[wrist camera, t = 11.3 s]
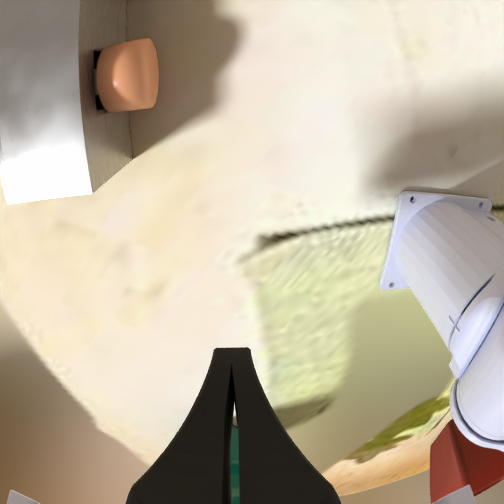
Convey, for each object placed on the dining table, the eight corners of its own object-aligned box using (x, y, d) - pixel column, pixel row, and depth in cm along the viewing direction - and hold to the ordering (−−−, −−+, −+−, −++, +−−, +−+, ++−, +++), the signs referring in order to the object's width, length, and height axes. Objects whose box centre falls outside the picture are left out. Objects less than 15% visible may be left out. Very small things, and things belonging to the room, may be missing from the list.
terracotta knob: (158, 42, 13) (138, 33, 10) (160, 105, 15) (140, 111, 12) (48, 68, 12) (13, 70, 9) (52, 123, 14) (18, 136, 11)
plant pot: (439, 418, 39) (469, 497, 25) (514, 381, 38) (547, 445, 24) (412, 456, 49) (430, 517, 34) (479, 426, 48) (501, 480, 34)
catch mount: (136, -89, 8) (106, -130, 3) (132, 159, 17) (92, 193, 12) (61, -65, 8) (16, -90, 3) (59, 168, 17) (7, 204, 12)
